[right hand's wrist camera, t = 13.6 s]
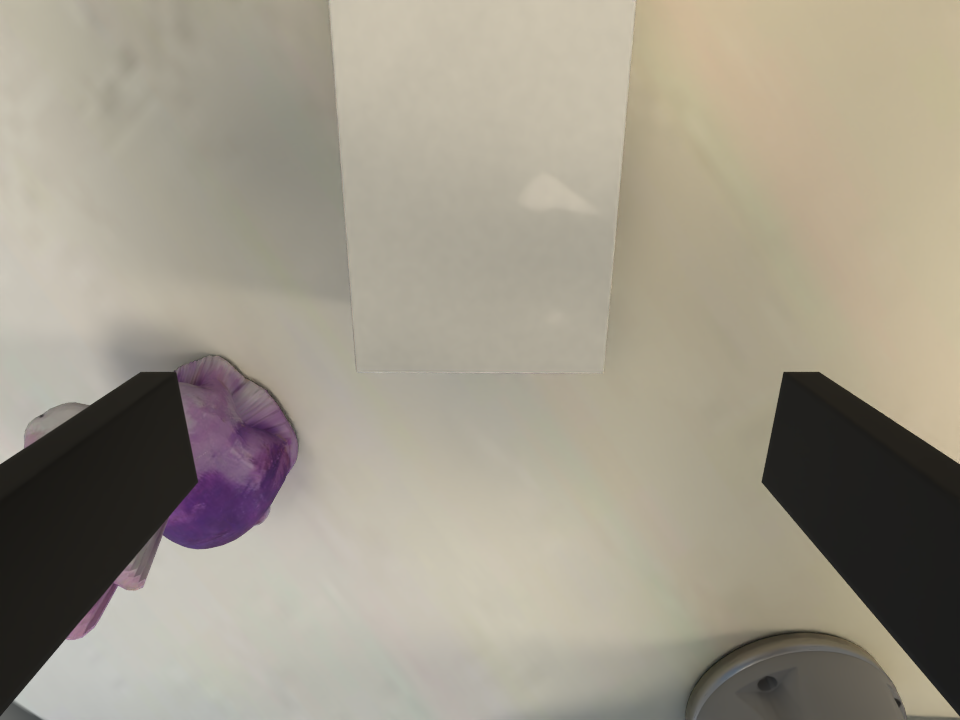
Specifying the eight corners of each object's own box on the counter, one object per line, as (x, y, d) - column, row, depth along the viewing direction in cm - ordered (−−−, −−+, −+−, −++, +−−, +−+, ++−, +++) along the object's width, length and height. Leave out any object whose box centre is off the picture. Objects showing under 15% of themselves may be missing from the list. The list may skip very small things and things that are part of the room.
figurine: (160, 324, 33) (-76, 454, 19) (325, 395, 35) (219, 563, 21) (121, 453, 36) (-108, 647, 22) (275, 512, 38) (152, 729, 24)
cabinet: (368, -133, 26) (304, -295, 16) (596, -132, 26) (662, -293, 16) (391, 309, 33) (355, 373, 24) (569, 310, 33) (604, 374, 24)
